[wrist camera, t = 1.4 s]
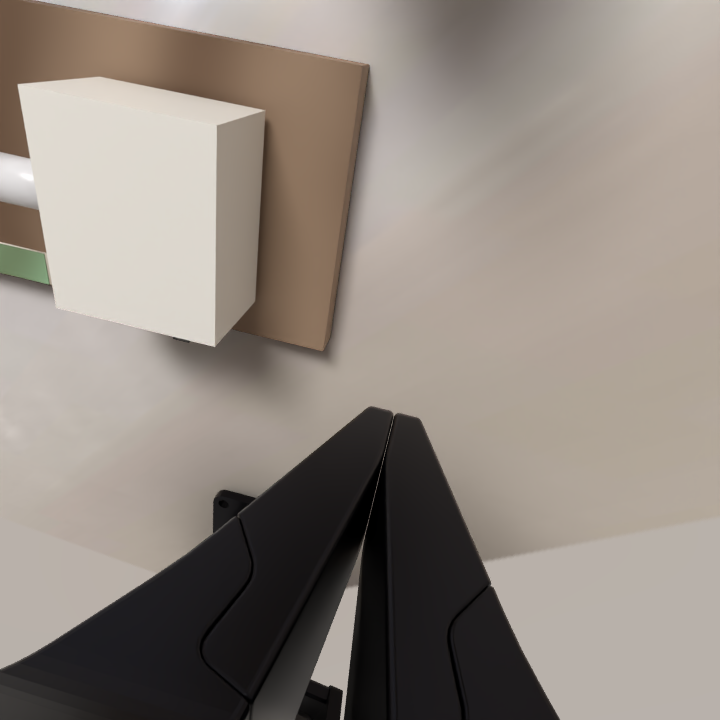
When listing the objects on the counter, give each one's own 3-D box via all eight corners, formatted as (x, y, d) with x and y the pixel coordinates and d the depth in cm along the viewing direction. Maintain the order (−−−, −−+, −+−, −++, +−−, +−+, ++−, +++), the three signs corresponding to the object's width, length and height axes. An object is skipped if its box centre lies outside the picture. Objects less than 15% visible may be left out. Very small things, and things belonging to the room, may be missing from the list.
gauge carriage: (265, 110, 15) (217, 125, 12) (252, 350, 19) (214, 401, 16) (4, 57, 16) (-96, 60, 13) (48, 300, 20) (-20, 341, 17)
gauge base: (369, 64, 15) (361, 66, 14) (330, 338, 20) (322, 353, 19) (-304, -65, 17) (-352, -71, 16) (-190, 213, 22) (-222, 221, 21)
